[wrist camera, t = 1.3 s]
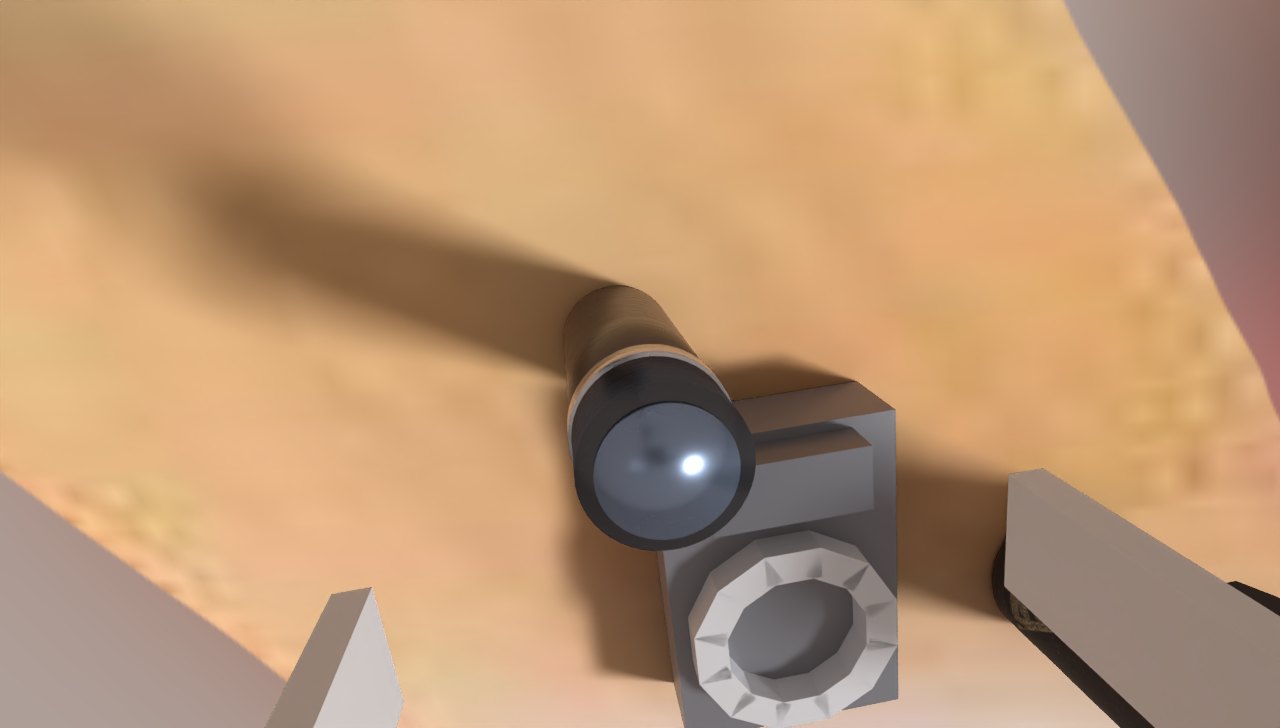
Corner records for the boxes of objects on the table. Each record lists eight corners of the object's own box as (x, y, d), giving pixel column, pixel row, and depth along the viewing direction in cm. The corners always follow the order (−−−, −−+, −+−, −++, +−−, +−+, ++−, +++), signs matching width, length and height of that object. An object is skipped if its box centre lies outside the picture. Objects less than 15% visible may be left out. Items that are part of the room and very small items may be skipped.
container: (1117, 470, 38) (1692, 789, 19) (1135, 598, 41) (1651, 987, 22) (971, 527, 38) (1402, 906, 19) (999, 651, 40) (1398, 1090, 22)
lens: (552, 292, 31) (556, 399, 17) (666, 275, 31) (755, 367, 18) (570, 399, 33) (586, 574, 19) (677, 382, 33) (768, 541, 20)
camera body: (638, 416, 33) (657, 471, 28) (856, 381, 34) (918, 426, 28) (673, 683, 38) (695, 776, 32) (864, 645, 39) (918, 729, 33)
